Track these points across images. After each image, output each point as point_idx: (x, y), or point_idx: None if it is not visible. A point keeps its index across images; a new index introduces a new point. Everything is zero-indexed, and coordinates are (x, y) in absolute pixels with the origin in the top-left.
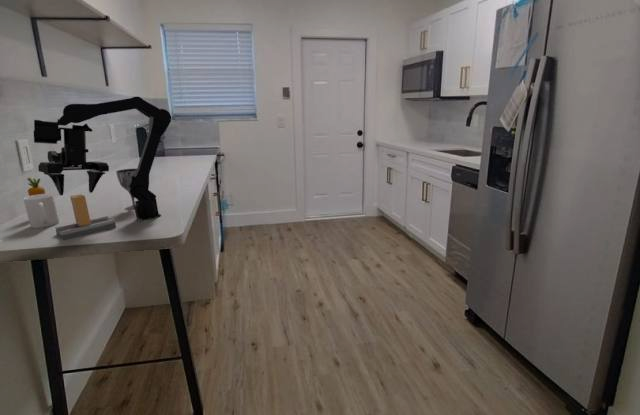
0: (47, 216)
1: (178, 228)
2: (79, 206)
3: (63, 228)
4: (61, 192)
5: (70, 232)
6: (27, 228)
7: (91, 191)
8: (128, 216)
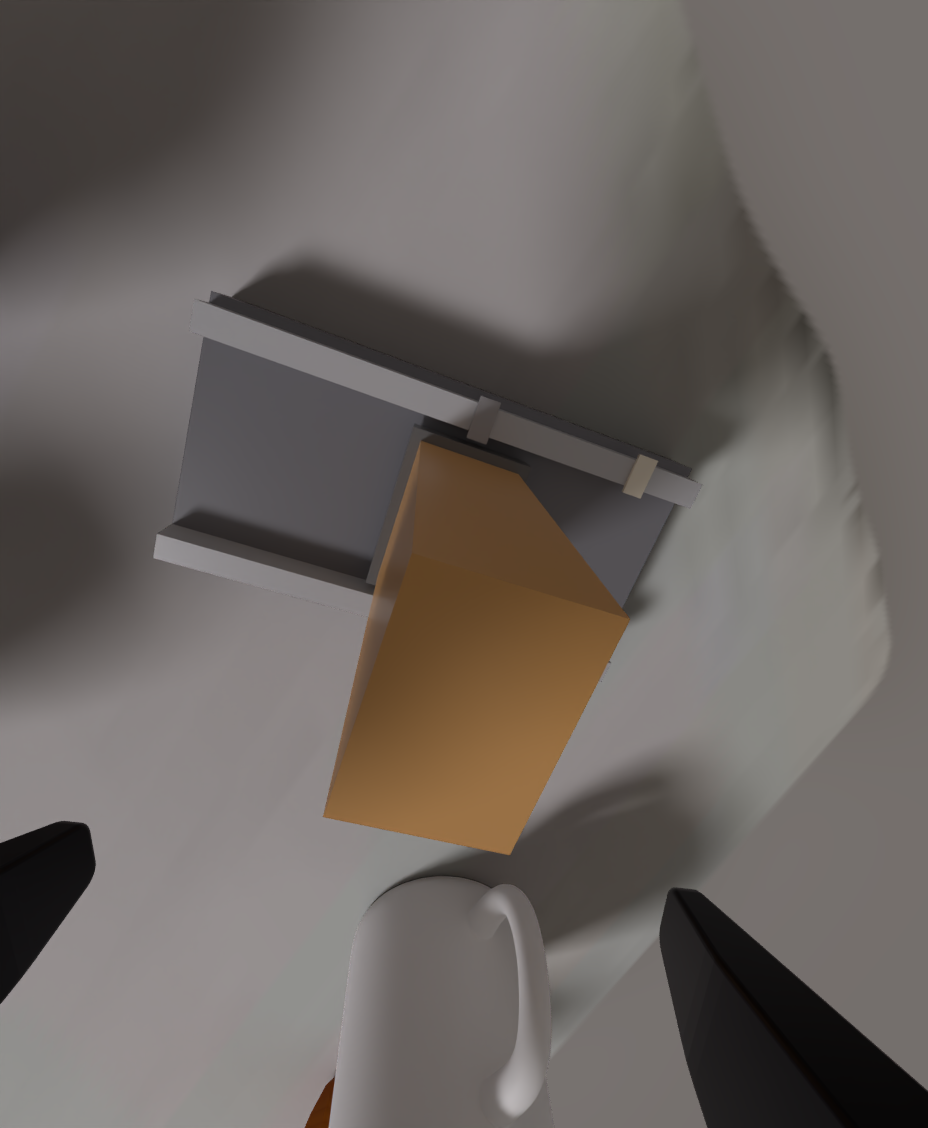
0: (461, 950)
1: None
2: (527, 530)
3: None
4: (745, 937)
5: (630, 455)
6: None
7: (60, 837)
8: None
